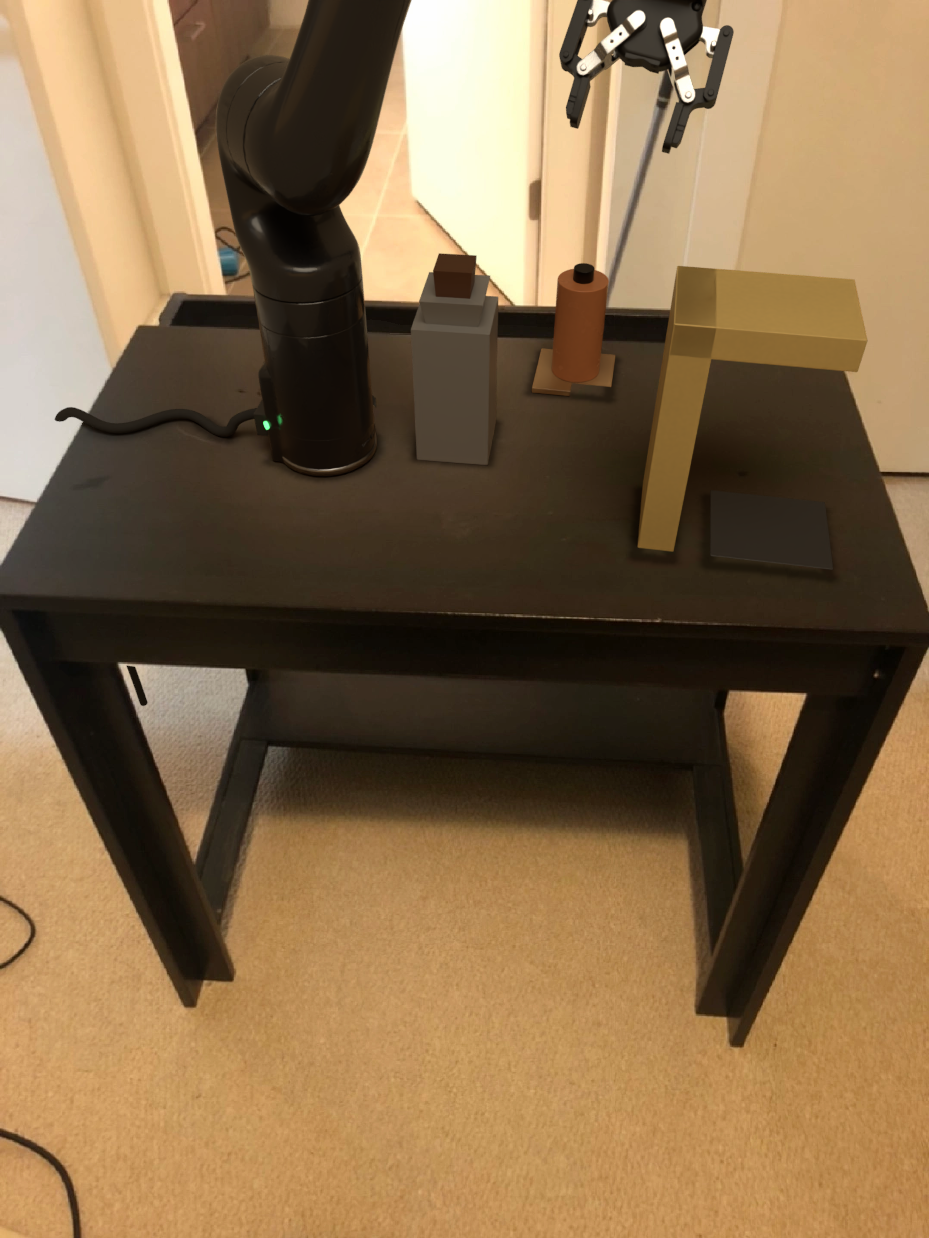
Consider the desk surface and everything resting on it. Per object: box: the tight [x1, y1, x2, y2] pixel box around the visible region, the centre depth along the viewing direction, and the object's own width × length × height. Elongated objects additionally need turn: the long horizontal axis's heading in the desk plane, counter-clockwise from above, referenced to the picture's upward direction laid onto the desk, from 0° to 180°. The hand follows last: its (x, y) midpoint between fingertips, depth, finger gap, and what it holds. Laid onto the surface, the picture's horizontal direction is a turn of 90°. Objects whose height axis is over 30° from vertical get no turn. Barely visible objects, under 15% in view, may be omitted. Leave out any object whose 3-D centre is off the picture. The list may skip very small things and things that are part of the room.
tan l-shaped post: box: [637, 265, 868, 571], centre depth 78 cm, size 16×9×22 cm, turn 80°
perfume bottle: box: [410, 252, 499, 466], centre depth 89 cm, size 7×7×18 cm
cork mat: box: [531, 348, 616, 397], centre depth 103 cm, size 8×8×1 cm
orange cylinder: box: [551, 262, 610, 382], centre depth 99 cm, size 5×5×11 cm
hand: (619, 138), depth 87 cm, fingers open, 8 cm apart
